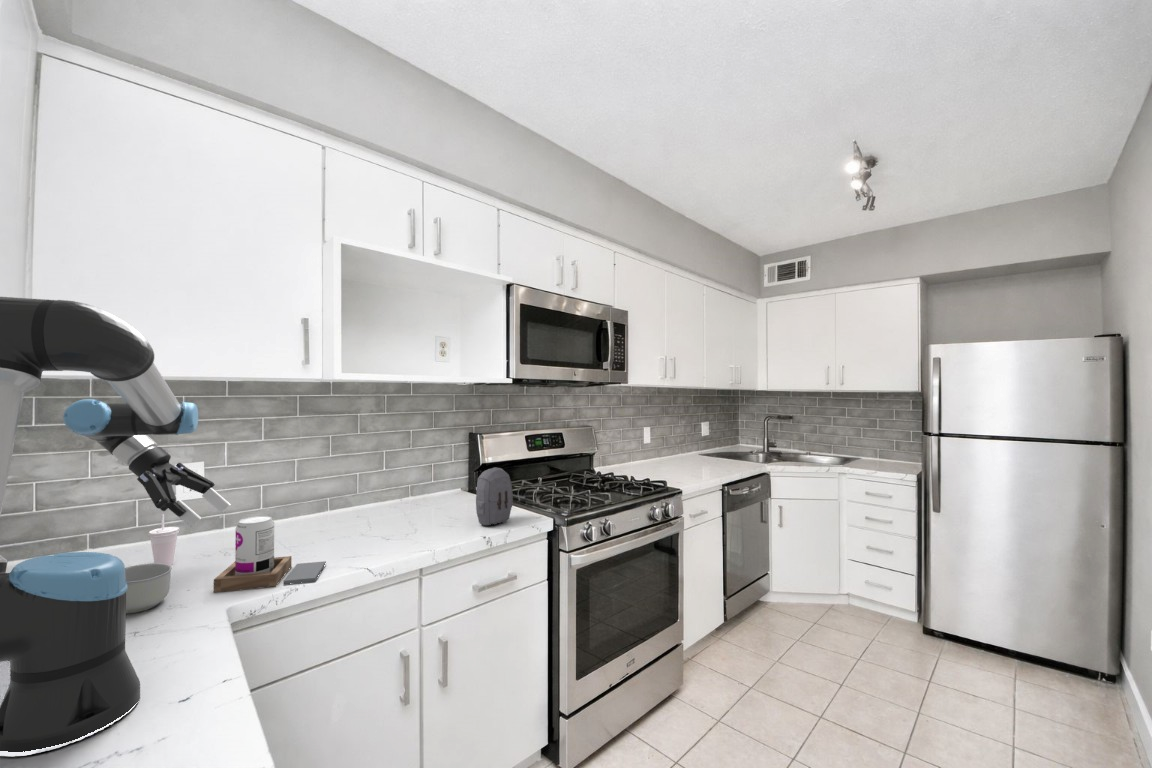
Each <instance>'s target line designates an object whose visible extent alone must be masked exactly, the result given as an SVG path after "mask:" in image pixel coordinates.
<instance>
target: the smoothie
mask: <svg viewBox="0 0 1152 768" xmlns="http://www.w3.org/2000/svg"><path fill="white" fill-rule="evenodd" d="M179 532H180V527H179V526H165V514H164V513H162V514H161V527H160V528H155V529H151V530H150V531H148V537H149V538H150V544H151V551H152V557H153V563H163V564H168V565H170V566H171V567H172V566H173V565H174V560H175V553H176V547H177V540H178V533H179Z"/></svg>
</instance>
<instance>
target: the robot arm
mask: <svg viewBox="0 0 1152 768" xmlns="http://www.w3.org/2000/svg"><path fill="white" fill-rule="evenodd" d="M154 362H155V352H154V349H153V347H152V346H151V344H150V343H149V341H148V339H147V338H146V337H145V336H144V335H143V334H142V333H141V332H140V331H139V330H138V329H136V327H133V326H132V325H131V324H129V323H127V321H125V320H123V319H122V318H120V317H119V316H117V315H114V314H112V313H111V312H110V311H109V312H108V311H107V310H104V309H102V308H99V307H96V306H94V305H91V304H88V303H84V302H79V301H74V300H67V299H66V300H64V299H57V300H56V299H45V298H44V299H41V298H27V297H12V296H9V297H8V296H0V517H1V516H2V511H3V505H4V500H5V494H6V489H7V485H8V478H9V474H10V470H11V469H10V468H11V463H12V458H13V452H14V448H15V442H16V436H17V432H18V426H19V421H20V416H21V412H22V405H23V401H24V395H25V394H26V393H27V392H29V391H31V390H33V389H35V388H37V387H38V386H40V385H41V380H42V375H43V372H52V371H53V372H63V371H64V372H65V371H69V372H70V371H71V372H72V371H73V372H82V373H83V372H85V373H90V374H91V375H92V376H93V377H95V378H98V379H100V380H102V381H106V382H107V383H108V384H109V385H110V386H111V387H112V388H113V390H114V391H115V392H116V393H117V395H119V396H120V398H122V400H123V401H124V402H103V401H101V400H97V399H93V398H92V399H91V398H86V399H81V400H77V401H75V402H73V403H71V404H70V405H69V406H67V407H66V409H65V410H64V412H63V415H62V420H63V423H64V424H65V426H66V427H67V428H68V429H69V430H70V431H72V432H73V433H74V434H77V435H80V436H82V437H85V438H88V439H91V440H92V441H95V442H96V443H98V444H99V446H101V447H103V448H104V449H105V450H106V451H107V452H108V453H110V454H111V455H112V456H114V457H115V459H117V462H119V463H122V464H123V465H124V466H125V467H128V470H129V471H130V472H132V473H133V474H134V475H136V477H137V478H136V480H137V481H138V482H139V483H140V484H141V485H142V487H144V490H145V491H146V493H147V494H148V497H149V498H150V499H151V501H152V503H153V505H154V506H155V508H156V509H160V510H161V511H162V512H166V511H167V510H170V512H172V513H173V514H174V515H175V516H177V518H179V519H180V520H181V521H183V523H184V524H186V525H187V526H189V528H193V527H195V525H197V524H198V523H199V522H200V521H201V520H202V516H200V515H199V514H198V513H197V512H195V511H194V510H193V508H191V507H189V505H187V504H186V503H185V502H184V501H183V500H181V499H178V500H177V497H176V495H175V491H174V488H173V486H182V487H185V488H186V489H189V490H192V491H194V492H196V493H200V494H202V495H201V497H203V499H205V501H207V502H208V503H209V504H211V505H212V506H213V507H214V508H215V509H216V510H218V512H220V513H223V512H225V511H226V510H227V509H228V508H229V507H230V506H231V505H232V504H231V503H230V502H229V501H228V500H227V499H225V497H223V496H222V495H220V493H219V492H217V491H216V490H215V489H214V488H213V487H214V486H215V485H216V484H215V483H214V482H213V481H212V480H209V479H208V478H206V477H204V476H203V475H200V474H199V473H197V472H196V471H193V470H191V469H190V468H189V467H187V466H185V465H184V464H183V463H182V462H177V463H176V464H175V465H173V464H171V463H170V460H171V458H172V456H171V455H170V454H169V453H168V452H167V451H166V450H165V449H163V448H162V447H161V446H158V443H157V442H156V441H155V440H154V439H152V438H151V437H150V436H164V435H165V436H166V435H167V436H168V435H170V436H171V435H176V436H178V435H185V434H193V433H194V432H195V431H196V430H197V428H198V425H199V409H198V406H197V404H195V403H194V402H185V401H179V400H178V398H176V395H175V394H174V393H173V391H172V390H171V388H170V386H169V385H168V383H167V382H166V379H164V377H163V376H162V375H163V374H161V372H160V371H159V369H158V367H157V366H156V365H155V363H154ZM7 567H8V559H6V558H5V557H4V556H3V555H1V554H0V663H2V662H9V668H10V670H9V671H10V672H9V675H10V676H9V684H8V688H7V689H6V692H5V694H4V697H3V699H2V701H1V704H0V751H8V752H23V751H24V752H25V751H31V750H36V749H42V748H46V747H51V746H55V745H59V744H63V743H66V742H69V741H72V740H75V739H78V738H80V737H82V736H85V735H87V734H88V733H91V732H94V731H95V730H97V729H100V728H102V727H104V726H106V725H107V724H109V723H111V722H113V721H114V720H116V719H117V718H119V717H121V716H122V715H124V714H125V713H126V712H128V711H129V710H130V709H131V708H132V707H133V706H134V705H135V704H136V703H137V702H138V701H139V702H140V700H139V699H141V681H140V678H139V677H138V674H137V673H136V671H135V669H134V666H133V663H132V661H131V660H130V658H129V656H128V654H127V651H126V630H127V629H126V628H127V627H126V626H127V625H126V623H127V621H126V617H127V616H126V615H127V613H126V591H127V588H128V587H127V584H126V583H127V582H126V579H125V568H126V566H125V563H124V562H123V560H122V559H121V558H119V557H118V556H116V555H112V554H110V553H105V552H96V551H95V552H94V551H93V552H92V551H74V552H62V553H61V552H60V553H54V554H52V555H41V556H40V555H39V556H37V557H32V558H28V559H25V560H23V561H21V562H18V563H17V564H16V565H14V566H13V567H12V569H11V571H10V572H6V571H7ZM139 702H138V703H139Z"/></svg>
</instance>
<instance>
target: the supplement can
mask: <svg viewBox="0 0 1152 768" xmlns="http://www.w3.org/2000/svg"><path fill="white" fill-rule="evenodd" d="M234 553H235V555H234V556H235V558H234V562H235V576H236V575H247V574H258V573H270V572H272V571H273V570H274V558H275V522H274V520H273V519H272V516H269V515H258V516H257V515H256V516H251V517H250V516H249V517H246V518H241V519H240V520H238V523H237V524H236V527H235V552H234Z"/></svg>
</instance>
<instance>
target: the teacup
mask: <svg viewBox="0 0 1152 768" xmlns="http://www.w3.org/2000/svg"><path fill="white" fill-rule="evenodd" d="M172 568H173V567H172V565H171V566H170V565H168V564H163V563H154V562H153V563H144V564H143V563H142V564H136V565H131V566H127V567H126V566H125V579H126V582H127V583H126V584H127V587H128V588H127V591H126V614H135V613H136V614H137V613H141V612H144V611H147V610H149V609H152V608H154V607H156V606H157V605H159V604H160V603H161V602H162V601H163V600H164V599H165V598H166V597H167V596H168V594H169V592H170V588H171V574H172V573H171V572H172Z"/></svg>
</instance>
